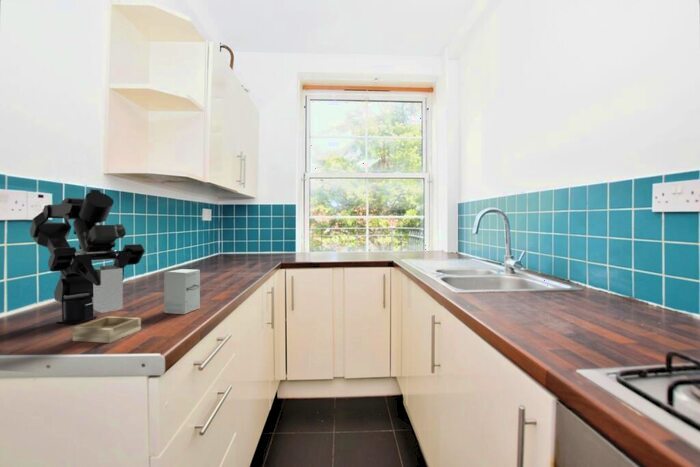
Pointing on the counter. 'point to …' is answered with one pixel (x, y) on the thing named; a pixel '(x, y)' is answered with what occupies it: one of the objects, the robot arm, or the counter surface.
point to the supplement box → (181, 291)
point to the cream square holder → (106, 329)
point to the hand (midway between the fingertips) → (110, 283)
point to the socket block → (108, 289)
